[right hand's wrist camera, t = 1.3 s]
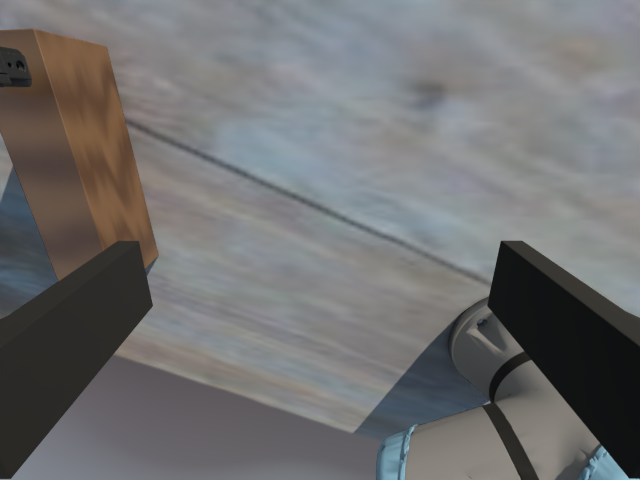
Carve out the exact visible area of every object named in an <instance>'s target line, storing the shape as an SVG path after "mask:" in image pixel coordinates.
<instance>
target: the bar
mask: <svg viewBox="0 0 640 480" xmlns="http://www.w3.org/2000/svg"><path fill="white" fill-rule="evenodd" d="M0 46H1V47H6V48H12V49H17V50H19V51H20V52H21V53H22V55H24V56H25V59H26V62H27V65H28V68H29V71H30V74H31V77H32V85H31V86H30V87H0V132H1V134H2V137H3V140H4V142H5V145H6V147H7V150H8V153H9V155H10V158H11V160H12V163H13V166H14V168H15V171H16V173H17V176H18V178H19V181H20V184H21V186H22V189H23V191H24V194H25V197H26V199H27V202H28V204H29V207H30V210H31V212H32V215H33V217H34V220H35V222H36V225H37V228H38V230H39V233H40V235H41V238H42V241H43V243H44V246H45V248H46V251H47V254H48V256H49V259H50V261H51V264H52V266H53V269H54V272H55V274H56V277H57V279H58V281H60V280H61V279H63V278H64V277H66V276H67V275H69V274H70V273H71V272H73V271H74V270H76V269H77V268H79V267H80V266H82V265H83V264H85V263H86V262H88V261H89V260H91V259H92V258H93V257H95V256H96V255H98V254H99V253H101V252H102V251H104V250H105V249H107V248H108V247H110V246H111V245H112V244H114V243H115V242H117V241H139V243H140V248H141V253H142V257H143V262H144V267H145V268H147V267H148V266H149V265H150V264H151V263H152V262H153V261H154V260H155V259H156V258H157V257H158V251H157V247H156V243H155V239H154V235H153V231H152V227H151V223H150V219H149V215H148V211H147V207H146V203H145V199H144V195H143V191H142V187H141V183H140V179H139V175H138V171H137V167H136V163H135V159H134V155H133V151H132V147H131V143H130V139H129V135H128V131H127V127H126V123H125V118H124V114H123V110H122V106H121V102H120V98H119V94H118V90H117V86H116V82H115V78H114V74H113V70H112V66H111V62H110V58H109V54H108V50H107V47H106V46H103V45H99V44H95V43H90V42H86V41H82V40H78V39H74V38H70V37H66V36H62V35H57V34H53V33H49V32H45V31H41V30H37V29H17V30H0Z"/></svg>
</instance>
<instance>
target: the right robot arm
mask: <svg viewBox="0 0 640 480" xmlns="http://www.w3.org/2000/svg"><path fill="white" fill-rule="evenodd" d="M152 306H153V304H152V300H151V295H150V290H149V286H148V281H147V276H146V271H145V267H144V262H143V257H142V253H141V248H140V243H139V241H117V242H115V243H114V244H112V245H111V246H110V247H108V248H107V249H105V250H104V251H102V252H101V253H99V254H98V255H96V256H95V257H93V258H92V259H91V260H89V261H88V262H86V263H85V264H83V265H82V266H80V267H79V268H77V269H76V270H74V271H73V272H71V273H70V274H69V275H67V276H66V277H64V278H63V279H61V280H60V281H58V282H57V283H55V284H54V285H52V286H51V287H50V288H48V289H47V290H45V291H44V292H42V293H41V294H39V295H38V296H36V297H35V298H33V299H32V300H31V301H29V302H28V303H26V304H25V305H23V306H22V307H20V308H19V309H17V310H16V311H14V312H13V313H11V314H10V315H9V316H7V317H5V318H2V319H0V479H11V478H12V477H13V475H14V474H15V473H16V472H17V470H18V469H19V468H20V467H21V466H22V464H23V463H24V462H25V461H26V460H27V458H28V457H29V456H30V455H31V453H32V452H33V451H34V450H35V449H36V447H37V446H38V445H39V444H40V443H41V441H42V440H43V439H44V438H45V436H46V435H47V434H48V433H49V432H50V430H51V429H52V428H53V427H54V425H55V424H56V423H57V422H58V421H59V419H60V418H61V417H62V416H63V415H64V413H65V412H66V411H67V410H68V408H69V407H70V406H71V405H72V404H73V402H74V401H75V400H76V399H77V397H78V396H79V395H80V394H81V393H82V391H83V390H84V389H85V388H86V387H87V385H88V384H89V383H90V382H91V381H92V379H93V378H94V377H95V376H96V374H97V373H98V372H99V371H100V370H101V368H102V367H103V366H104V365H105V363H106V362H107V361H108V360H109V359H110V357H111V356H112V355H113V354H114V353H115V351H116V350H117V349H118V348H119V346H120V345H121V344H122V343H123V342H124V340H125V339H126V338H127V337H128V336H129V334H130V333H131V332H132V331H133V329H134V328H135V327H136V326H137V325H138V323H139V322H140V321H141V320H142V319H143V317H144V316H145V315H146V314H147V312H148V311H149V310H150V309H151V308H152ZM448 347H449V353H450V356H451V359H452V361H453V363H454V365H455V367H456V369H457V370H458V372H459V373H460V374H461V375H462V376H463V377H464V378H465V379H466V380H467V381H469V382H470V383H471V384H472V385H473V386H475V387H476V388H477V389H478V390H479V391H480V392H481V393H482V394H483V395H484V396H485V397H486V398H487V399H488V400H489V401H490V402H491V403H490V404H487V405H484V406H480V407H477V408H473V409H470V410H467V411H464V412H460V413H457V414H454V415H451V416H448V417H444V418H441V419H438V420H435V421H431V422H428V423H425V424H422V425H417V424H415V425H412V426H411V427H410V428H409V429H406V430H404V431H401V432H398V433H396V434H393V435H391V436H388V437H387V438H386V439H385V440H384V441H383V442H382V443H381V445H380V448H379V450H378V456H377V462H376V480H640V318H639V317H637V316H634V315H632V314H630V313H628V312H626V311H624V310H623V309H621V308H620V307H618V306H617V305H615V304H614V303H612V302H611V301H609V300H608V299H607V298H605V297H604V296H602V295H601V294H599V293H598V292H596V291H595V290H593V289H592V288H590V287H589V286H588V285H586V284H585V283H583V282H582V281H580V280H579V279H577V278H576V277H574V276H573V275H571V274H570V273H569V272H567V271H566V270H564V269H563V268H561V267H560V266H558V265H557V264H555V263H554V262H552V261H551V260H549V259H548V258H547V257H545V256H544V255H542V254H541V253H539V252H538V251H536V250H535V249H533V248H532V247H530V246H529V245H528V244H526V243H525V242H523V241H501V243H500V248H499V253H498V257H497V262H496V267H495V271H494V276H493V281H492V285H491V290H490V295H489V297H487V298H485V299H483V300H481V301H479V302H477V303H475V304H474V305H472V306H471V307H470V308H468V309H467V310H466V311H465V312H464V313H463V314H462V315H461V316H460V317H459V318H458V320H457V321H456V323H455V324H454V326H453V328H452V330H451V333H450V336H449V343H448Z"/></svg>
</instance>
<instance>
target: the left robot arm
mask: <svg viewBox="0 0 640 480" xmlns="http://www.w3.org/2000/svg"><path fill="white" fill-rule="evenodd" d="M31 85H32V77H31V74H30V71H29V68H28V65H27V62H26V59H25V56H24V55H22V53H21V52H20V51H19V50H17V49H12V48H6V47H1V46H0V87H30V86H31Z"/></svg>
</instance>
